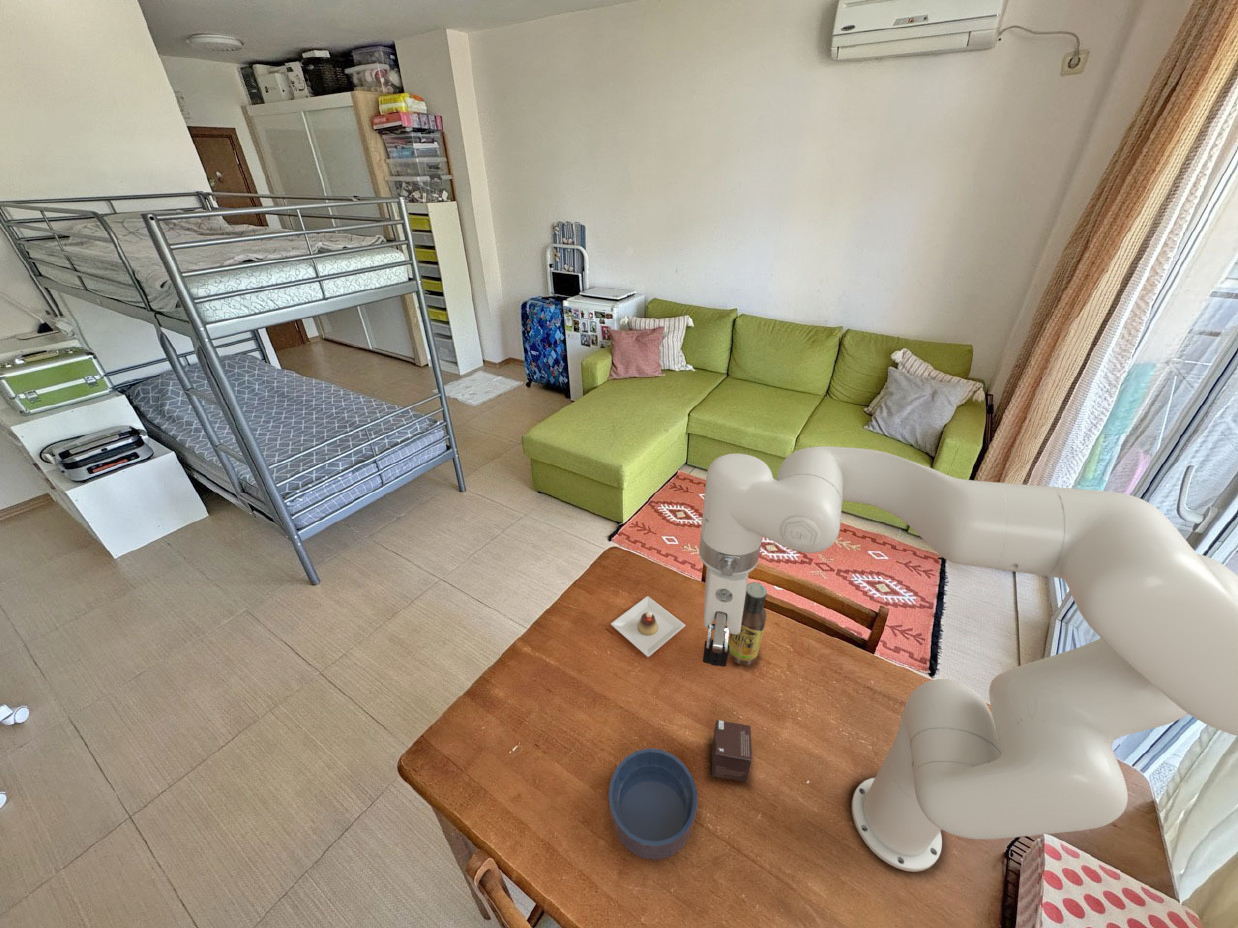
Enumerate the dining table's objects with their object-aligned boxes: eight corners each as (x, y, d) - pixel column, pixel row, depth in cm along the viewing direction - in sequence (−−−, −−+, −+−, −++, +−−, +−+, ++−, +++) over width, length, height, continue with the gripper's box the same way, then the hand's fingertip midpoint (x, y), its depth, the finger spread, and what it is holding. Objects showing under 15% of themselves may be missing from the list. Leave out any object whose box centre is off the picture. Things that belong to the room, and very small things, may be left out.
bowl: (680, 757, 87) (681, 740, 84) (706, 849, 76) (709, 833, 73) (603, 774, 85) (602, 757, 82) (618, 871, 74) (617, 855, 71)
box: (746, 783, 83) (752, 761, 79) (710, 776, 84) (714, 754, 80) (746, 747, 88) (751, 724, 84) (712, 741, 89) (715, 718, 85)
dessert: (648, 660, 104) (648, 645, 101) (610, 626, 111) (609, 612, 109) (685, 628, 111) (686, 613, 108) (647, 598, 118) (647, 584, 116)
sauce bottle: (721, 653, 105) (730, 587, 94) (738, 637, 108) (749, 571, 98) (746, 673, 101) (759, 606, 90) (764, 655, 104) (778, 588, 94)
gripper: (759, 602, 55) (741, 693, 64) (760, 509, 69) (745, 595, 78) (691, 591, 56) (683, 681, 66) (706, 502, 71) (697, 587, 80)
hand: (717, 634), depth 72 cm, fingers open, 9 cm apart
